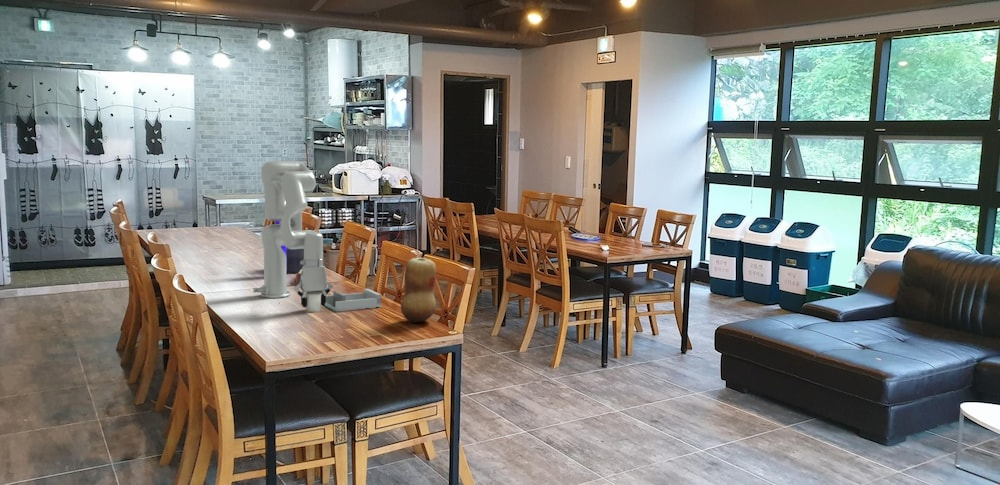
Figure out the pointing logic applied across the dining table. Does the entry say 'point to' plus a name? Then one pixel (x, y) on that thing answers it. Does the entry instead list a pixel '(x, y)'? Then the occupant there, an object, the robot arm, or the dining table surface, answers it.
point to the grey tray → (355, 301)
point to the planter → (294, 260)
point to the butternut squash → (419, 290)
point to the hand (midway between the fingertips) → (313, 305)
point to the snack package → (298, 277)
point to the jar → (313, 301)
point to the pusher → (338, 297)
